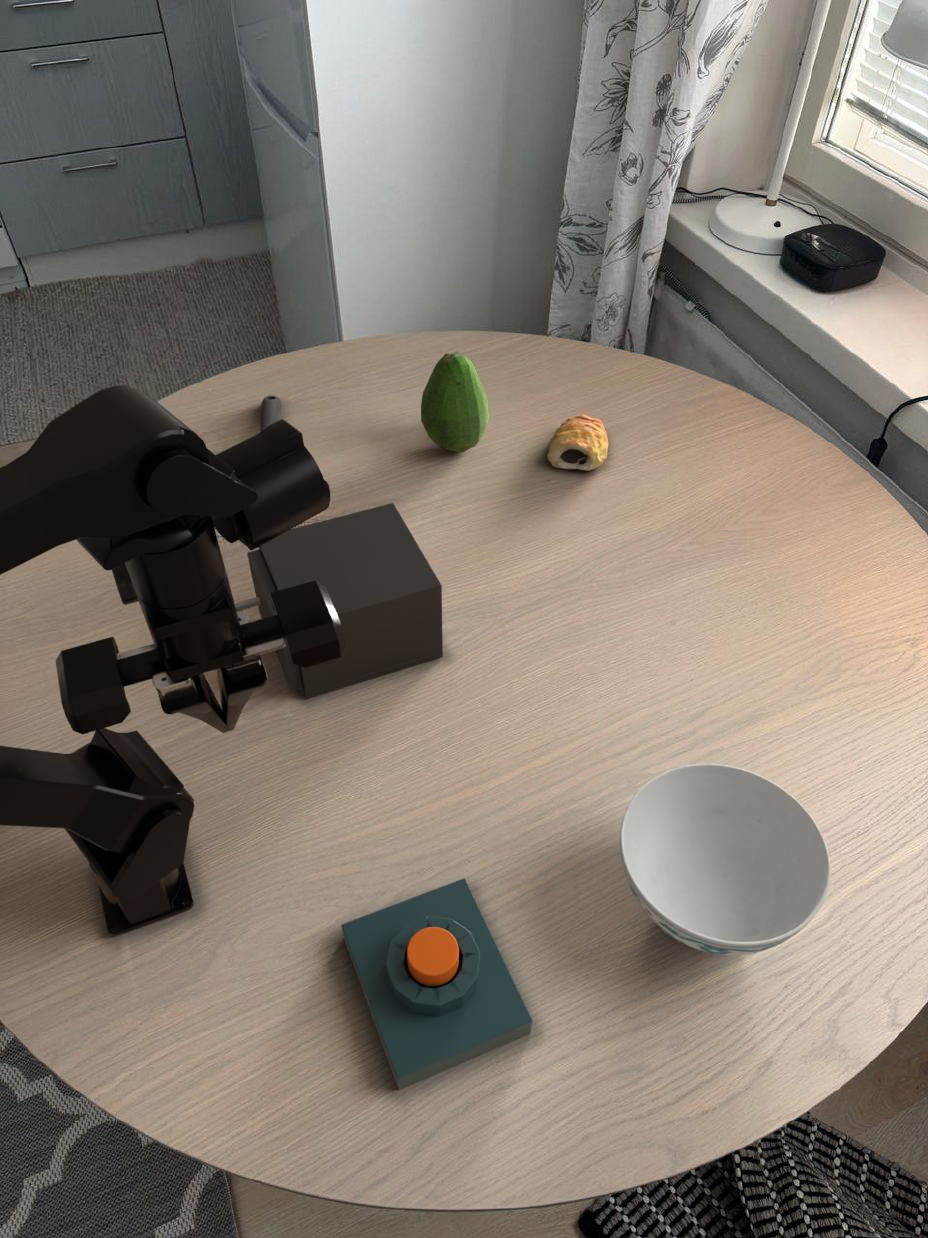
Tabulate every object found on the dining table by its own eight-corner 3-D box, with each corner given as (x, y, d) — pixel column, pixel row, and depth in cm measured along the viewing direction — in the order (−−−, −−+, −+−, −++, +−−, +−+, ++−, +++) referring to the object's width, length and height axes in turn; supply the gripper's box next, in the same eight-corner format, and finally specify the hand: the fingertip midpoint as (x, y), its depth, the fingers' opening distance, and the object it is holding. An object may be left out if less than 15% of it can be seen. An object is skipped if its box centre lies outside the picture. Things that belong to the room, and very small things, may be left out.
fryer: (306, 699, 92) (294, 627, 85) (270, 610, 100) (256, 537, 93) (443, 657, 96) (442, 584, 89) (397, 574, 104) (393, 502, 97)
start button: (466, 975, 70) (466, 963, 68) (418, 994, 69) (418, 983, 67) (447, 931, 72) (446, 919, 71) (400, 949, 71) (399, 937, 70)
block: (531, 1033, 70) (534, 1009, 68) (398, 1091, 68) (396, 1068, 65) (464, 891, 78) (465, 865, 75) (343, 938, 75) (338, 912, 72)
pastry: (560, 423, 123) (562, 397, 120) (614, 432, 122) (618, 405, 119) (544, 468, 117) (547, 441, 114) (601, 477, 115) (605, 450, 113)
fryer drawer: (245, 706, 90) (231, 647, 84) (216, 623, 97) (202, 564, 92) (418, 653, 95) (415, 594, 89) (378, 577, 102) (373, 519, 96)
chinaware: (654, 1018, 71) (670, 969, 66) (581, 842, 81) (590, 787, 76) (841, 965, 74) (872, 914, 68) (748, 801, 84) (769, 745, 79)
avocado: (467, 420, 123) (468, 332, 115) (499, 453, 119) (502, 364, 110) (410, 437, 121) (406, 349, 112) (439, 472, 116) (438, 383, 107)
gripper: (291, 468, 70) (318, 619, 82) (17, 536, 66) (86, 686, 77) (335, 569, 63) (358, 720, 74) (31, 653, 59) (105, 799, 70)
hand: (227, 727), depth 74 cm, fingers closed
